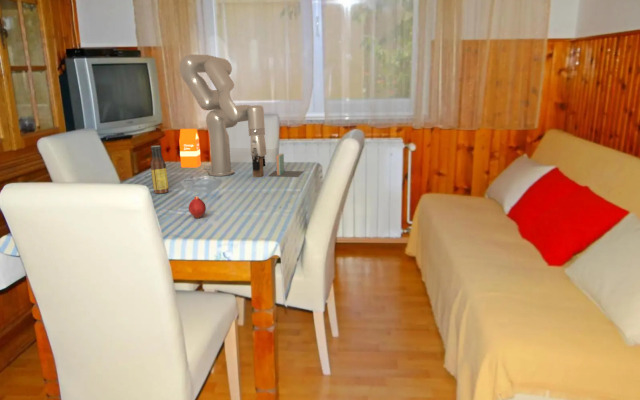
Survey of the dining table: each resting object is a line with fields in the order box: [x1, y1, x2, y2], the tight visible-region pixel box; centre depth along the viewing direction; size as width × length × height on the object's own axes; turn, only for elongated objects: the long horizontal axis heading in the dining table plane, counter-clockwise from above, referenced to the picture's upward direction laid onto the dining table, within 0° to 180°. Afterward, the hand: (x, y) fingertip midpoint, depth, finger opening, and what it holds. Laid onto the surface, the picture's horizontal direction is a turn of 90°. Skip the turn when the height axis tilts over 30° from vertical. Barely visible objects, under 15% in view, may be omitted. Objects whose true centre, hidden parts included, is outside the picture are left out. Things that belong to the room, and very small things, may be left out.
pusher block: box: [251, 156, 264, 178], centre depth 246 cm, size 4×4×10 cm
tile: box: [275, 153, 285, 175], centre depth 252 cm, size 2×8×9 cm, turn 171°
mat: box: [268, 170, 304, 178], centre depth 252 cm, size 15×14×1 cm
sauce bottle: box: [150, 145, 170, 195], centre depth 218 cm, size 6×6×20 cm
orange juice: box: [178, 128, 202, 168], centre depth 277 cm, size 8×9×20 cm
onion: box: [188, 195, 207, 219], centre depth 181 cm, size 6×6×8 cm
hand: (259, 168), depth 246 cm, fingers open, 9 cm apart
